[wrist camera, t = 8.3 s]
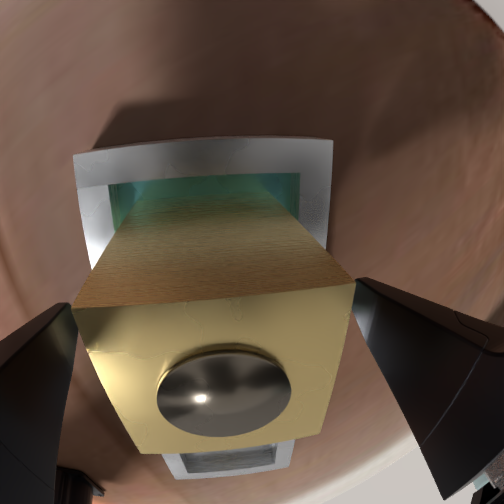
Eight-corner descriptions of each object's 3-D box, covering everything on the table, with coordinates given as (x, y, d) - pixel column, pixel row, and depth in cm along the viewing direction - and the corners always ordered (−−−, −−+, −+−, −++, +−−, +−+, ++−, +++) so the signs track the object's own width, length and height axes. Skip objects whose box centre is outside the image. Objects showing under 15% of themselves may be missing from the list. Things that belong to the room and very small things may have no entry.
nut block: (266, 302, 14) (321, 438, 7) (154, 312, 13) (140, 459, 6) (268, 191, 11) (360, 288, 5) (136, 201, 11) (67, 315, 4)
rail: (282, 447, 21) (288, 466, 19) (174, 459, 20) (175, 479, 18) (312, 136, 12) (333, 140, 10) (91, 149, 10) (72, 154, 9)
